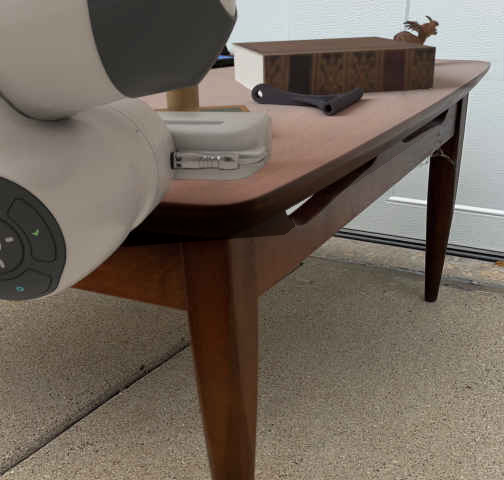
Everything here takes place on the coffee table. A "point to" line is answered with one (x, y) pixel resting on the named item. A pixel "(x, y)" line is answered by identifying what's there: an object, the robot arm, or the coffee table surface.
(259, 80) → the book
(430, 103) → the coffee table surface
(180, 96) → the wooden stamp
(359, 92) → the bracket
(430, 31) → the dragon figurine
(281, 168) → the coffee table surface
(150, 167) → the robot arm
